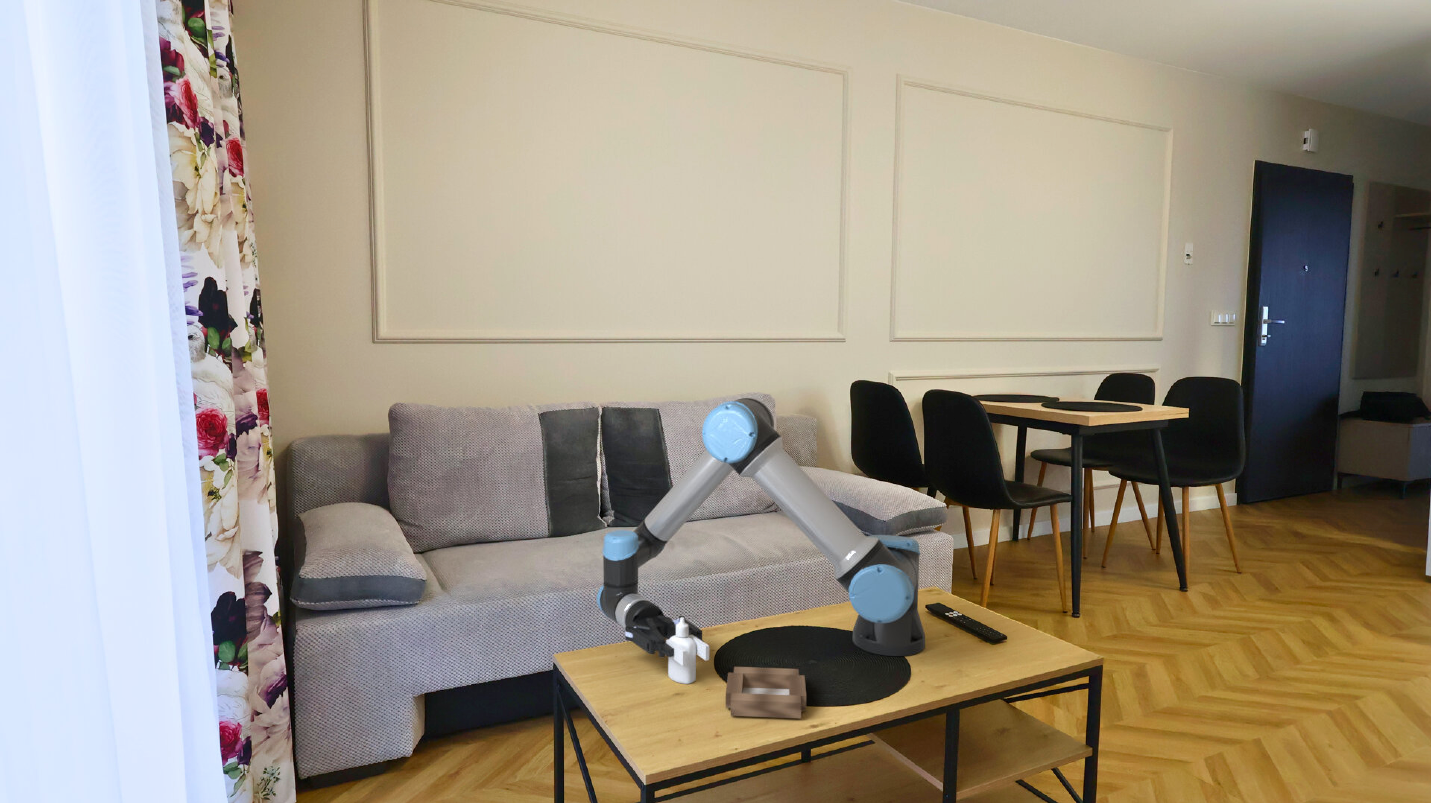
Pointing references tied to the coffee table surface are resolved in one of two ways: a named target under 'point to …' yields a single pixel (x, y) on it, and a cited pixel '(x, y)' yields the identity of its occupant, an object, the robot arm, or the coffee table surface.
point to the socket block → (766, 692)
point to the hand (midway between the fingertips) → (696, 655)
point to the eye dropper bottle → (689, 670)
